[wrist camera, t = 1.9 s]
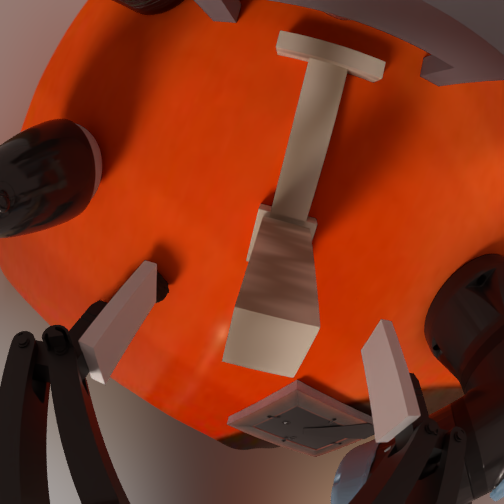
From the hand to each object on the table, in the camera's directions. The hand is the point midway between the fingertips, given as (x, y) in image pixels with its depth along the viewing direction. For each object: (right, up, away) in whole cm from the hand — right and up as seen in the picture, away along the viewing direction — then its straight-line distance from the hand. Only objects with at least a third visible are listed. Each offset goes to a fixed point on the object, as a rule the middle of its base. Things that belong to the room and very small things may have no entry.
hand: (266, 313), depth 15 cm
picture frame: (+9, -25, +25) cm, 37 cm away
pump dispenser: (-19, +13, +9) cm, 25 cm away
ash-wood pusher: (+3, +11, +7) cm, 13 cm away
